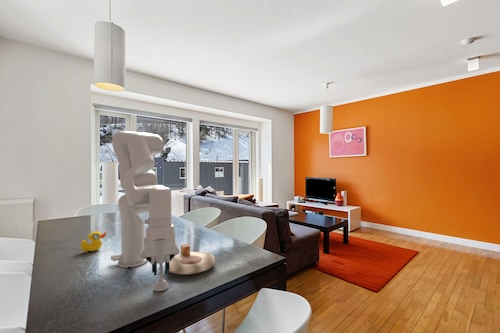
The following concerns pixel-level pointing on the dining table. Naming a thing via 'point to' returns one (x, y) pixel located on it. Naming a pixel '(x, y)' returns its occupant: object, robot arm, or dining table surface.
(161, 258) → the chalice
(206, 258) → the turntable
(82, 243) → the duckling
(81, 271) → the dining table surface
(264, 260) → the dining table surface
